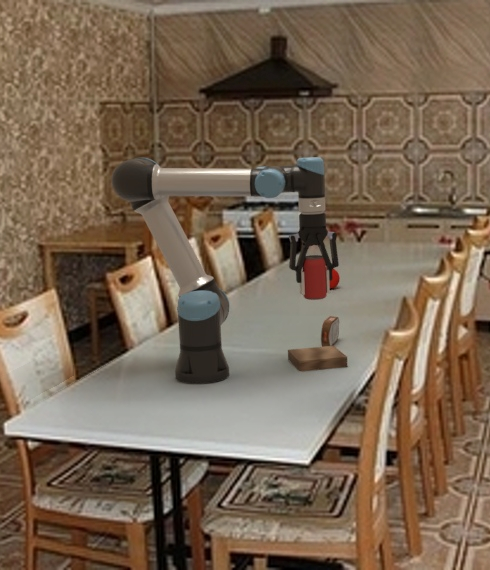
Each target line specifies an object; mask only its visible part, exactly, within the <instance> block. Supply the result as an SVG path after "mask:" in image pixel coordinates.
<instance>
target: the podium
mask: <svg viewBox="0 0 490 570" xmlns="http://www.w3.org/2000/svg"><path fill="white" fill-rule="evenodd" d="M287 359H288V361H289V362H290V363H291V364H292V365H293V366H294V368H295V369H297V371H299V372H309V371H318V370H329V369H342V368H348V355H346V354H345V353H343V351H341V350H340V349H339V348H337V347H336V346H334V345H333V346H325V347H322V346H316V347H305V348H293V349H287Z"/></svg>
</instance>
